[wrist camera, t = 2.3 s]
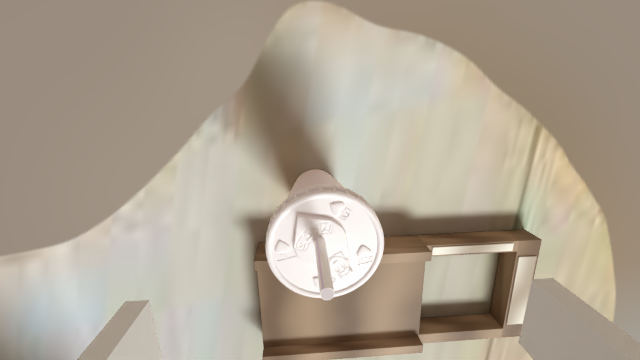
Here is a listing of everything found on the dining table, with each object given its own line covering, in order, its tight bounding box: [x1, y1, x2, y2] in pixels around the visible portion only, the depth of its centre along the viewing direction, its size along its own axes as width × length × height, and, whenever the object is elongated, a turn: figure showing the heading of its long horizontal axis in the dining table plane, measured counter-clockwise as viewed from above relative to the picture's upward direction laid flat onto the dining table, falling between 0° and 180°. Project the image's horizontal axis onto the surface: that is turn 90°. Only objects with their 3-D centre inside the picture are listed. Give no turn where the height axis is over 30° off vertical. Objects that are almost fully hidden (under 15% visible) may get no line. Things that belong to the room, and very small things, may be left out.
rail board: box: [254, 230, 541, 360], centre depth 27 cm, size 24×10×3 cm, turn 91°
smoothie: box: [265, 169, 384, 300], centre depth 18 cm, size 6×6×14 cm
